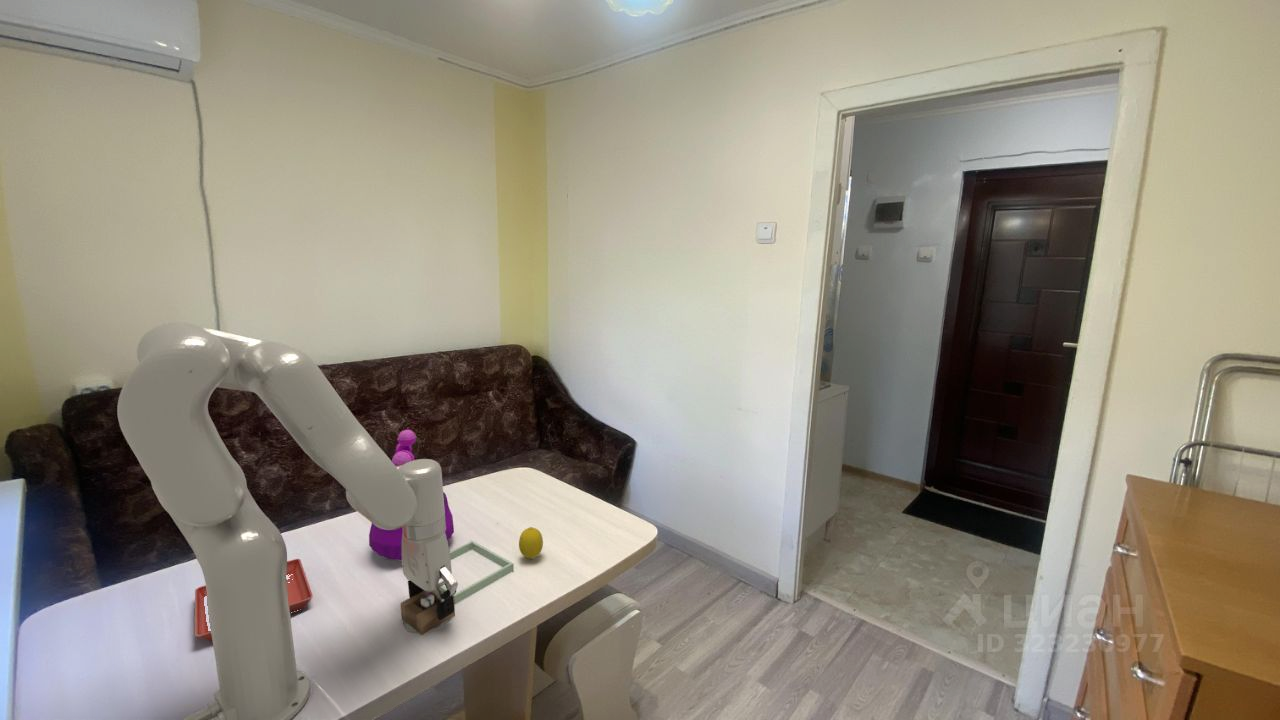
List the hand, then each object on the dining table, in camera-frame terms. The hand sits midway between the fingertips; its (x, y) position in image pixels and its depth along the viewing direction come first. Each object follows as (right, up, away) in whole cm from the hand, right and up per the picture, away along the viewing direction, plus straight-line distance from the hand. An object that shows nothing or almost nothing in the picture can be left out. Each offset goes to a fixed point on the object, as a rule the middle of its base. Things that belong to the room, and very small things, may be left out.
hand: (431, 605), depth 102 cm
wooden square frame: (0, -2, 0) cm, 2 cm away
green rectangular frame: (+2, 0, +14) cm, 15 cm away
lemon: (+15, +1, +22) cm, 27 cm away
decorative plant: (-14, +2, +25) cm, 29 cm away
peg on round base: (-1, -3, 0) cm, 3 cm away
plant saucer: (-37, -2, +3) cm, 37 cm away
